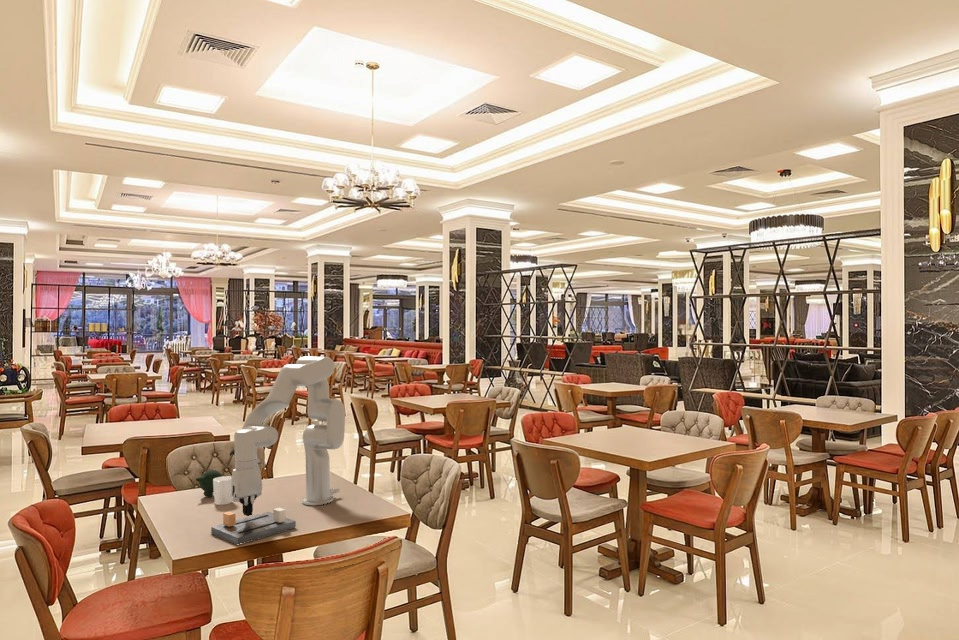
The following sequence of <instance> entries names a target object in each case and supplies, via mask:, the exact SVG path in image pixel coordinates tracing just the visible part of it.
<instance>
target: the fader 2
mask: <svg viewBox="0 0 959 640" xmlns="http://www.w3.org/2000/svg"><path fill="white" fill-rule="evenodd" d="M272 511H273V512H272V513H273V520H274V521H276V522H278V523H280V522H283V521H286V518H287V517H286V509H285V508H282V507H276V508H273V510H272Z"/></svg>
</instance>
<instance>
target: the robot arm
mask: <svg viewBox="0 0 959 640" xmlns="http://www.w3.org/2000/svg"><path fill="white" fill-rule="evenodd" d="M335 365H336V364H335V362H334V360H333V359H332V358H331V357H329V356H315V355H313V356H311V355H309V356H306V355H305V356H300V357H299V358H298V359H296V362H295V363H292V364H291V363H290V364H289V363H288V364H285V365H284V366H282V367H281V368H280V370H279V373H278V374H277V376H276V379H275V380H274V383H273V385H272V387H271V389H270V391H269V393H268V395H267V397H266V398H265V399H264V400H263V401H261V402H260V403H259V404H258V405H256V406H255V407H254V408H252V410H251V411H250V413H249V414H248V416H247V417H246V419H245V422H244V424H243V426H242V429H239V430H236V431H235V432H234V436H233V442H234V443H233V444H234V447H233V448H234V450H235V454H234V469H232V472H231V476H232V477H231V496H233V500H232V503H233V502H234V503H240V504H241V505H242V514H243V516H246V517H250V516H253V510H254V509H253V508H254V507H253V506H254V503H255V501H256V499H257V498H258V497H260V496H262V494H263V493H262V491H263V481H262V473H261V469H260V466H259V463H260V462H261V458H260V457H258V448H268V447H270V446H273V445H275V444H276V443H277V441H278V440H279V432H278V430H277V429H276V428H275V427H273V426H269V425H262V424H263V423H264V422H265V421H266V420H267V419H268V418H269V417H270V416H272V415H274V414H276V413H278V412H281V411H282V410H284V409H286V408H288V407H289V405H290V403H291V402H292V399H293V396H294V395H295V392H296V390H297V388H298V387H307V416H308V418H309V419H310V420H312V421H314V422H315V421H316V422H325V423H326V424H321V423H314V424H310V425H308V426H306V428H305V429H304V430H303V433H302V441H303V442H302V443H303V446H304V455H305V497H304V498H302V500H301V503H302V504H304V505H306V506H321V505H322V506H323V504H324V505H327V503H328V504H330V502H331V503H333V501H334V500H335V497H334V496H333V495H334V494H338V493H340V490H341V489H340V488H339V487H336V488H332V487H331V479H330V478H331V477H330V476H331V474H330V470H331V469H330V455H329V451H328V450H338V449H340V448H341V447H342V445H343V444H344V439H345V429H346V428H345V426H346V408H345V405H344V403H343V402H342V401H341V400H340V399H337V398H330V385H329V384H330V383H329V381H328V378H330V377H331V376H332V375H333V374H334V372H335V369H336V366H335Z"/></svg>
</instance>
